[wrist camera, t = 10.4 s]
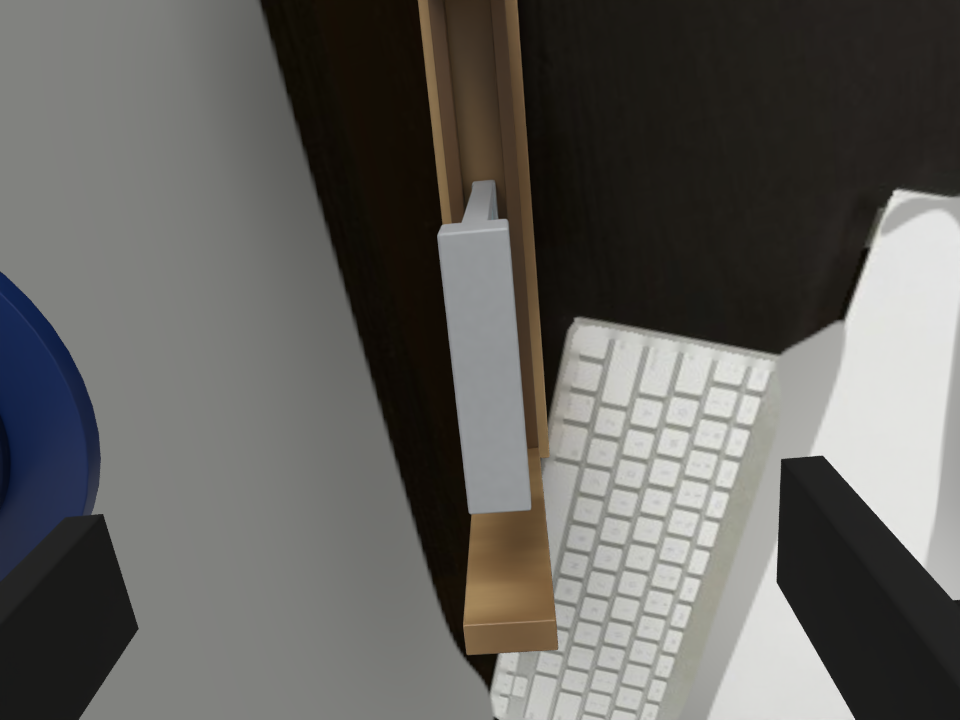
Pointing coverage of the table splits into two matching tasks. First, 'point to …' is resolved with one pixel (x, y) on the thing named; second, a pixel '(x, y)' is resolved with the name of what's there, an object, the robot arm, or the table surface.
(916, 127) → the table surface
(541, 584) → the brown wooden l-shape
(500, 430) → the grey rectangular block
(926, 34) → the table surface
